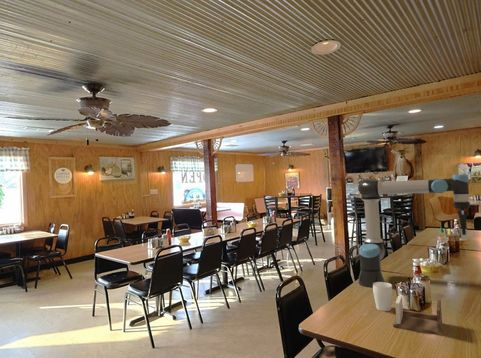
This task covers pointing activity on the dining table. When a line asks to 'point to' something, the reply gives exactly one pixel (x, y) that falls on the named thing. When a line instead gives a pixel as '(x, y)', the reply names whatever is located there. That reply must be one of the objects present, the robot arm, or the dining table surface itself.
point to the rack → (422, 321)
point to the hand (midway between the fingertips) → (463, 238)
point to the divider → (399, 309)
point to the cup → (382, 295)
